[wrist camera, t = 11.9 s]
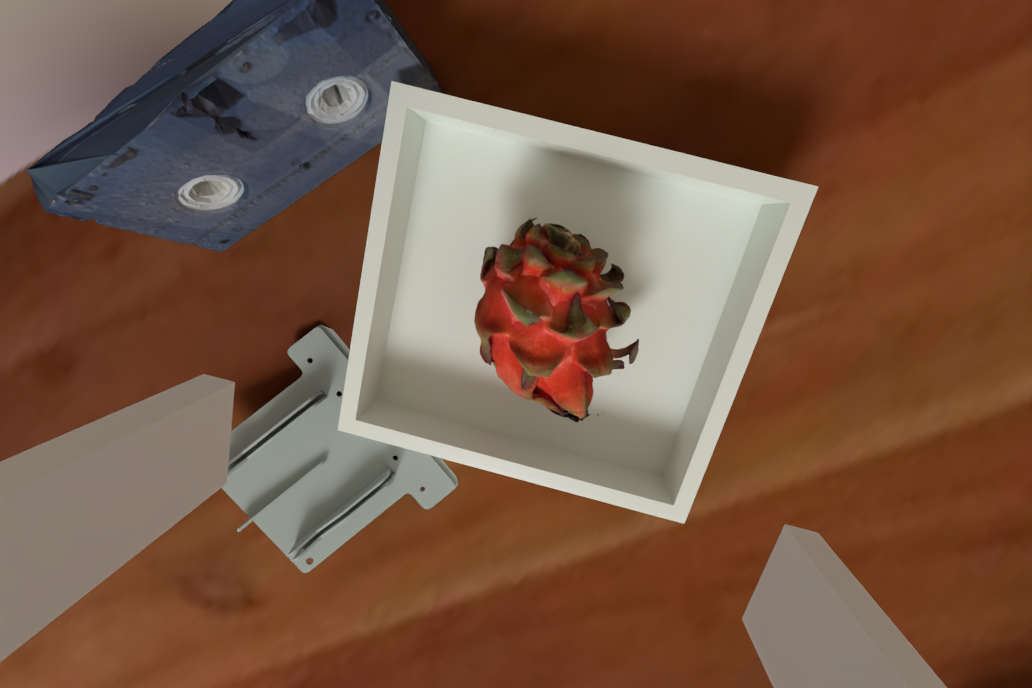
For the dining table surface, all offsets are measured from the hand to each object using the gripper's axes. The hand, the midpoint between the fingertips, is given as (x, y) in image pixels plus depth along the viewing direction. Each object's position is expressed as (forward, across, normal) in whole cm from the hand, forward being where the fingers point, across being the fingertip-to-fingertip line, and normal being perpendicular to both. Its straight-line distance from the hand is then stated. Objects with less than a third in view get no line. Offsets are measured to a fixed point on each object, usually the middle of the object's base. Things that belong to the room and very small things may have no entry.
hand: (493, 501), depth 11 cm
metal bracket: (+22, -12, -13) cm, 28 cm away
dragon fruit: (+20, +1, +1) cm, 20 cm away
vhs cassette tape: (+21, -16, +6) cm, 27 cm away
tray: (+21, +1, +1) cm, 21 cm away
